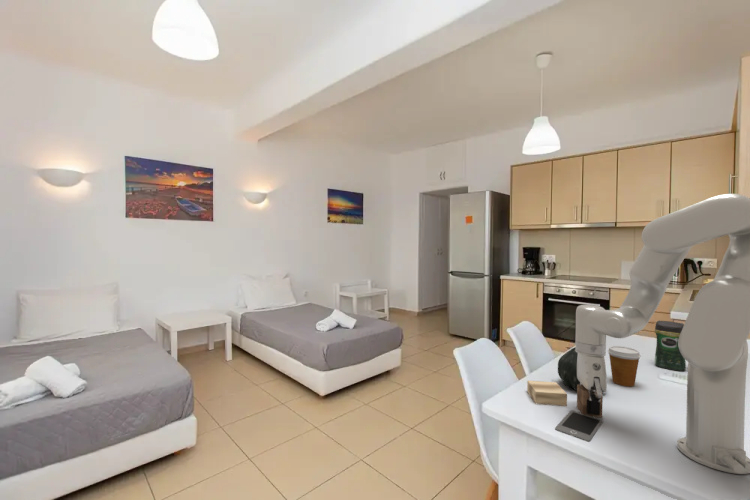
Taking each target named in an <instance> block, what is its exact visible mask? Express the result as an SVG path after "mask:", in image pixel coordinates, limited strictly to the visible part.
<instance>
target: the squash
mask: <svg viewBox="0 0 750 500" xmlns="http://www.w3.org/2000/svg"><path fill="white" fill-rule="evenodd" d="M577 356H578V353H577V352H576V351H575V347H572V348H571V349H570V350H568V351H566V352H565V353H564V354H563V355H561V356H560V358H559V359H558V361H557V373H558V376H559V378H560V380H561V381H562V383H563V384H564V386H566V387H567V388H570V389H574V391H577V384H578V385H580V381H579V380H578V378H577Z"/></svg>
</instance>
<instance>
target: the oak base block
mask: <svg viewBox="0 0 750 500" xmlns="http://www.w3.org/2000/svg"><path fill="white" fill-rule="evenodd" d="M526 383H527V387H526V389H527V390H526V391H527V393H528V395H529V396H530V397H531V399H532V401H533V400H534V401H533V402H534V403H535V404H536V403H537V404H536V405H547V404H549V406H560V407H561V406H563V407H567V406H568V394H567V392H566V391H565V390H564V389H563V388H562V387H561V386H560V384H558V383H557V382H555V381H540V380H527V382H526Z"/></svg>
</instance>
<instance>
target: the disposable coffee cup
mask: <svg viewBox="0 0 750 500" xmlns="http://www.w3.org/2000/svg"><path fill="white" fill-rule="evenodd" d="M607 353H608V354H609V361H610V363H609V364H610V371H611V378H612V379H611V380H612V382H613V383H614V384H617V385H618V386H623V387H630V388H631V387H634V386H635V383H636V378H637V373H638V367H639V362H640V361H639V360H640V358H641V354H640V351H639V350H637V349H635V348H631V347H626V346H618V345H612V346H609V347H608V350H607Z"/></svg>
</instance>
